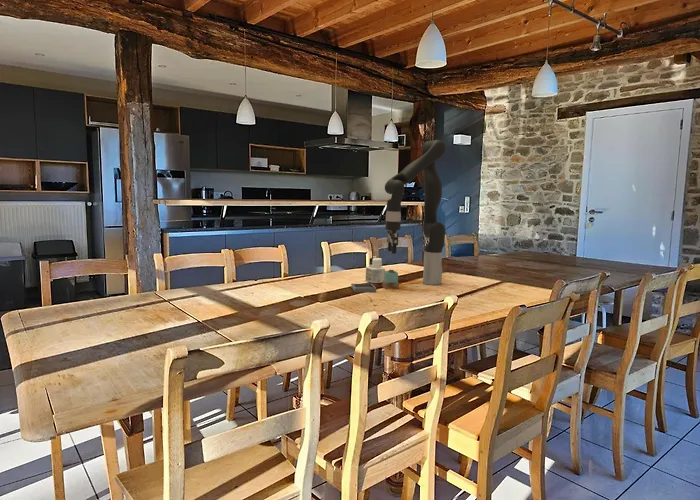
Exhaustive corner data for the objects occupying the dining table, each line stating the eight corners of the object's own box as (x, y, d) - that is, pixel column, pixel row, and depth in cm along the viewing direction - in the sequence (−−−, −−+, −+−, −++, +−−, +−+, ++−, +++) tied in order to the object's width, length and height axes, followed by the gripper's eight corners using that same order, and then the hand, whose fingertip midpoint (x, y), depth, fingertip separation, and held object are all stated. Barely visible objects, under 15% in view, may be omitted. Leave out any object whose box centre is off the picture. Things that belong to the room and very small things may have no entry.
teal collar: (394, 280, 247) (395, 270, 247) (397, 282, 242) (398, 273, 241) (383, 280, 246) (384, 270, 246) (386, 282, 241) (386, 273, 240)
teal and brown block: (395, 286, 248) (396, 268, 247) (398, 288, 241) (399, 271, 240) (382, 286, 247) (383, 268, 246) (385, 288, 240) (386, 271, 239)
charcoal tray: (371, 287, 243) (372, 283, 242) (376, 292, 232) (376, 288, 232) (351, 287, 241) (351, 283, 241) (354, 292, 231) (354, 288, 230)
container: (365, 280, 260) (366, 256, 258) (377, 279, 263) (378, 256, 262) (371, 283, 253) (372, 259, 251) (384, 282, 256) (385, 258, 255)
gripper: (404, 221, 233) (402, 254, 236) (397, 219, 247) (395, 250, 250) (389, 221, 232) (387, 254, 235) (382, 219, 246) (381, 250, 249)
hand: (391, 252), depth 242 cm, fingers open, 8 cm apart
